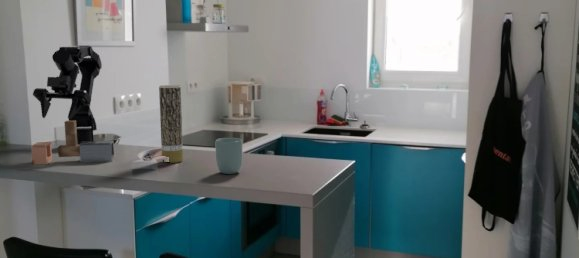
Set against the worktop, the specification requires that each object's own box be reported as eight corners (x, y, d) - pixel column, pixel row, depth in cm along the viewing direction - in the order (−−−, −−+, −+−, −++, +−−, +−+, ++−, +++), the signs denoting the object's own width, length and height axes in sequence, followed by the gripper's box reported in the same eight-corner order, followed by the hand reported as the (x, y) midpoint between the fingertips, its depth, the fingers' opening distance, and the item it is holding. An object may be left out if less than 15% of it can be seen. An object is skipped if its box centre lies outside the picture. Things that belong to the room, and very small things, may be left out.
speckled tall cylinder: (185, 159, 194) (183, 84, 191) (179, 163, 188) (177, 86, 184) (165, 159, 195) (162, 85, 192) (159, 163, 188) (156, 86, 185)
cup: (229, 168, 179) (228, 136, 178) (248, 172, 174) (247, 139, 173) (211, 173, 173) (210, 140, 172) (229, 176, 168) (228, 142, 167)
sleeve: (114, 158, 198) (113, 140, 197) (111, 161, 193) (110, 142, 192) (83, 159, 196) (82, 141, 196) (80, 162, 191) (79, 143, 190)
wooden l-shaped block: (110, 153, 196) (108, 119, 195) (108, 155, 193) (106, 120, 191) (61, 155, 194) (59, 120, 193) (58, 157, 191) (56, 122, 189)
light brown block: (52, 160, 196) (50, 141, 195) (46, 164, 189) (45, 145, 188) (38, 160, 195) (37, 142, 195) (32, 164, 189) (31, 145, 188)
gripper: (31, 65, 198) (18, 106, 191) (83, 67, 196) (72, 108, 189) (46, 81, 208) (34, 120, 202) (96, 83, 206) (85, 123, 199)
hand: (56, 118), depth 198 cm, fingers open, 9 cm apart
